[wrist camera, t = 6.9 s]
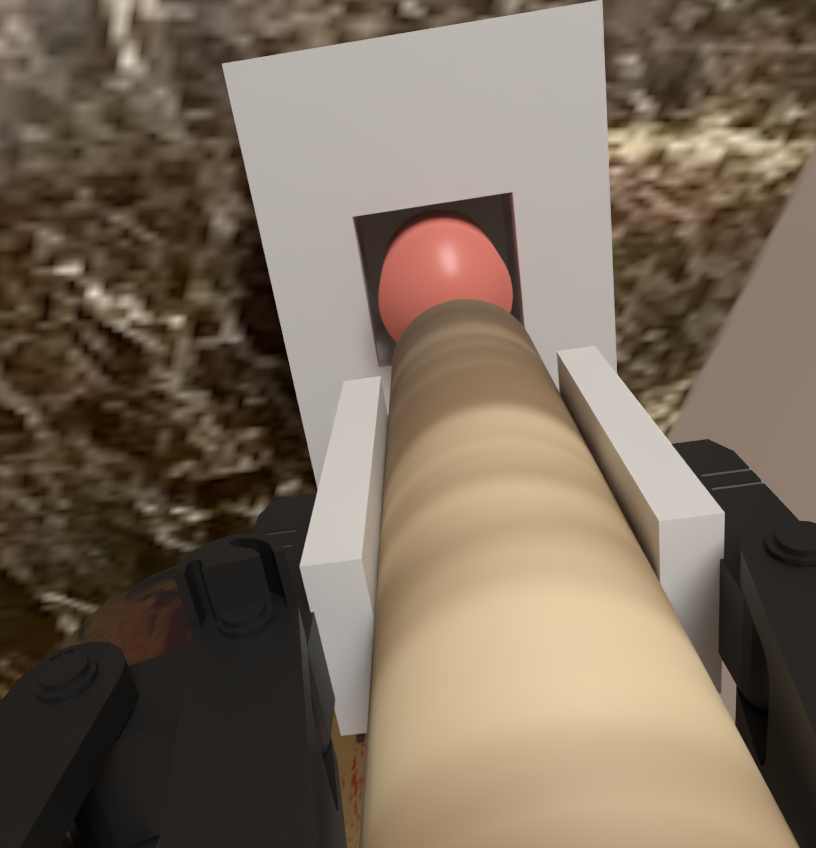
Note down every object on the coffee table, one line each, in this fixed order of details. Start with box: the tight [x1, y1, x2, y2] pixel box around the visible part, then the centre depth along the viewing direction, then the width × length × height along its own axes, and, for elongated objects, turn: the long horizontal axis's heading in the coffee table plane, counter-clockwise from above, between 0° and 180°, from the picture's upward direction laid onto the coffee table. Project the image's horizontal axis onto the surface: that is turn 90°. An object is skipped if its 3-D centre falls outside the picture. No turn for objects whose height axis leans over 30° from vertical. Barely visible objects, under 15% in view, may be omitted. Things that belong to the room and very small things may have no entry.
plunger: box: [378, 209, 513, 343], centre depth 27 cm, size 4×4×5 cm
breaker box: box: [222, 0, 617, 489], centre depth 29 cm, size 16×12×7 cm
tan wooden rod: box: [359, 299, 800, 848], centre depth 12 cm, size 4×4×14 cm
